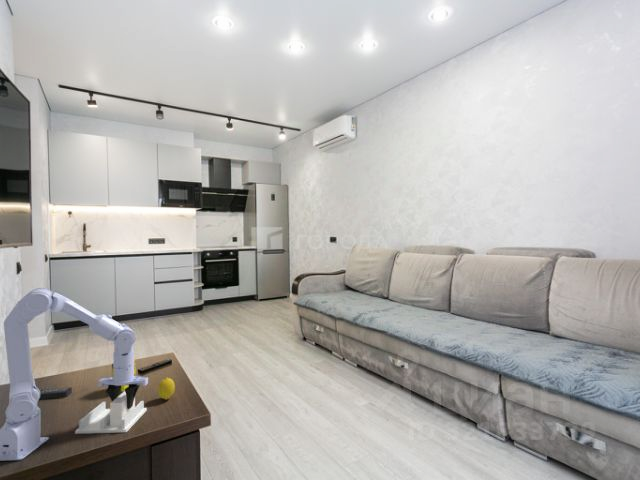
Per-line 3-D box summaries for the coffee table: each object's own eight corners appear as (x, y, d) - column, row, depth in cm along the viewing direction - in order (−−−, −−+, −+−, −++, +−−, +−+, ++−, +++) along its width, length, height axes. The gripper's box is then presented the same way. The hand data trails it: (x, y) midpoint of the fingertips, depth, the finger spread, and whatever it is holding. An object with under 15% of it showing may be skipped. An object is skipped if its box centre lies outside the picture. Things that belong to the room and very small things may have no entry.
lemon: (154, 401, 119) (154, 378, 119) (168, 394, 123) (168, 373, 124) (164, 404, 116) (164, 382, 116) (178, 398, 121) (178, 376, 121)
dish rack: (126, 432, 99) (126, 420, 99) (75, 433, 98) (75, 421, 98) (146, 410, 112) (146, 400, 112) (101, 411, 111) (101, 401, 111)
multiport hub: (65, 398, 121) (66, 392, 121) (31, 401, 119) (31, 395, 119) (72, 393, 126) (72, 387, 126) (39, 395, 123) (39, 389, 123)
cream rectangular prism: (134, 412, 109) (135, 391, 109) (121, 425, 101) (121, 402, 101) (124, 412, 109) (124, 391, 109) (109, 425, 101) (110, 403, 101)
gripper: (152, 360, 110) (152, 401, 110) (107, 361, 109) (107, 402, 109) (142, 368, 103) (142, 411, 103) (94, 369, 102) (94, 413, 102)
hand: (123, 407), depth 105 cm, fingers closed on cream rectangular prism, 3 cm apart
